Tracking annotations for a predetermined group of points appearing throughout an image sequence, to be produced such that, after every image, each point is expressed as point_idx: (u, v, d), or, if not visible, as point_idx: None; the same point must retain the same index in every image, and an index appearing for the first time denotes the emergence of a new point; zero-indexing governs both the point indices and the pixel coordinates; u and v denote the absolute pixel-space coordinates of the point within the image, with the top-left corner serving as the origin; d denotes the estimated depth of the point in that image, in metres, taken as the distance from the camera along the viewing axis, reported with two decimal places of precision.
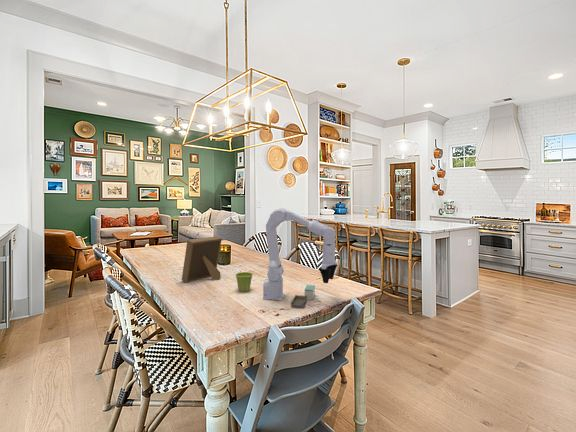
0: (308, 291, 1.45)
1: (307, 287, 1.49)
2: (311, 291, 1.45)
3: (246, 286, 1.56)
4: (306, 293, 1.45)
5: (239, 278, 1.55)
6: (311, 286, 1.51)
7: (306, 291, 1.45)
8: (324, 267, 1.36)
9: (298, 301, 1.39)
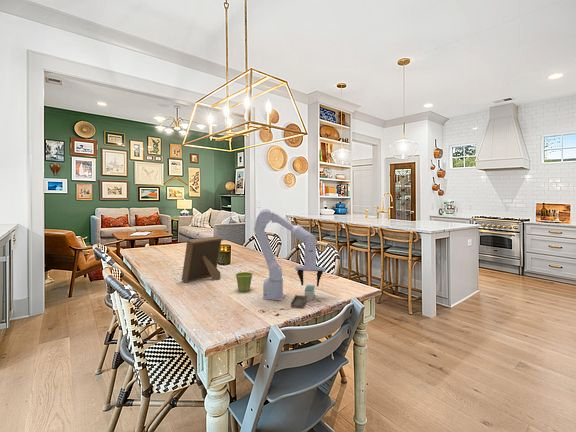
0: (308, 291, 1.45)
1: (307, 287, 1.49)
2: (311, 291, 1.45)
3: (246, 286, 1.56)
4: (306, 293, 1.45)
5: (239, 278, 1.55)
6: (311, 286, 1.51)
7: (306, 291, 1.45)
8: None
9: (298, 301, 1.39)
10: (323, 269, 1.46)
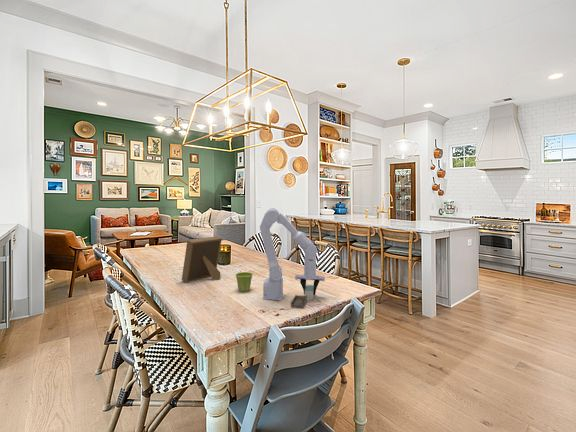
0: (308, 291, 1.45)
1: (307, 287, 1.49)
2: (311, 291, 1.45)
3: (246, 286, 1.56)
4: (306, 293, 1.45)
5: (239, 278, 1.55)
6: (311, 286, 1.51)
7: (306, 290, 1.45)
8: (295, 277, 1.50)
9: (298, 301, 1.39)
10: (323, 278, 1.46)
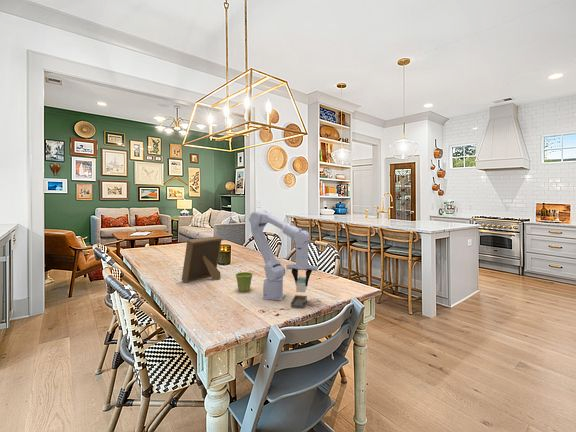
0: (300, 283, 1.37)
1: (299, 279, 1.41)
2: (303, 283, 1.37)
3: (246, 286, 1.56)
4: (298, 285, 1.37)
5: (239, 278, 1.55)
6: (303, 278, 1.43)
7: (298, 282, 1.37)
8: None
9: (298, 301, 1.39)
10: (315, 268, 1.38)
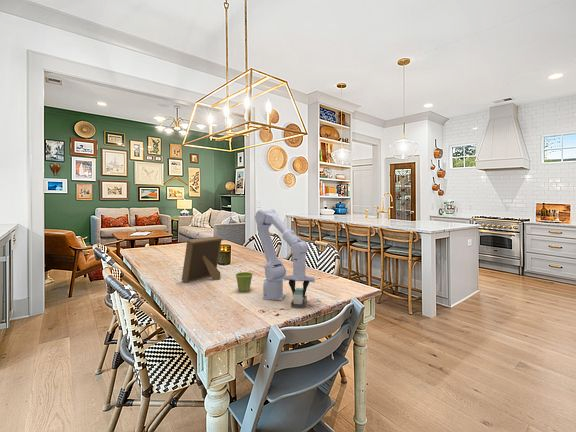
0: (297, 295, 1.35)
1: (296, 290, 1.39)
2: (300, 295, 1.35)
3: (246, 286, 1.56)
4: (295, 297, 1.35)
5: (239, 278, 1.55)
6: (301, 289, 1.41)
7: (295, 294, 1.35)
8: None
9: None
10: (313, 279, 1.36)
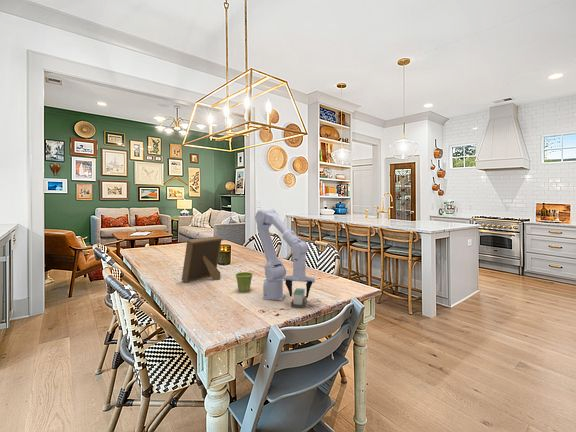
0: (297, 295, 1.35)
1: (296, 290, 1.39)
2: (300, 295, 1.35)
3: (246, 286, 1.56)
4: (295, 297, 1.35)
5: (239, 278, 1.55)
6: (301, 289, 1.41)
7: (295, 294, 1.35)
8: None
9: None
10: (313, 279, 1.36)
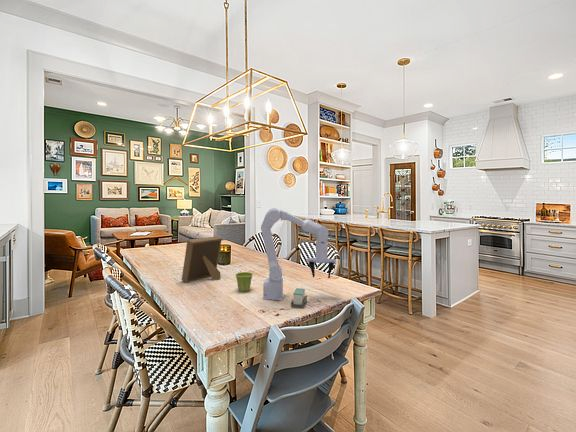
0: (297, 295, 1.35)
1: (296, 290, 1.39)
2: (300, 295, 1.35)
3: (246, 286, 1.56)
4: (295, 297, 1.35)
5: (239, 278, 1.55)
6: (301, 289, 1.41)
7: (295, 294, 1.35)
8: None
9: None
10: (335, 261, 1.46)
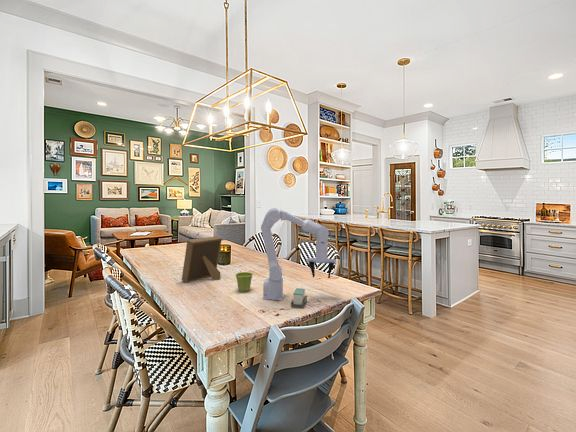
0: (297, 295, 1.35)
1: (296, 290, 1.39)
2: (300, 295, 1.35)
3: (246, 286, 1.56)
4: (295, 297, 1.35)
5: (239, 278, 1.55)
6: (301, 289, 1.41)
7: (295, 294, 1.35)
8: None
9: None
10: (335, 261, 1.46)
